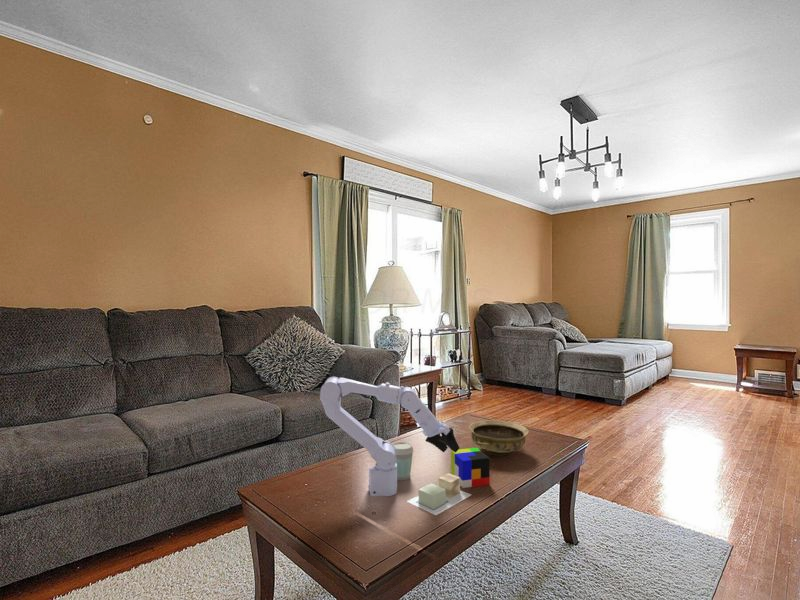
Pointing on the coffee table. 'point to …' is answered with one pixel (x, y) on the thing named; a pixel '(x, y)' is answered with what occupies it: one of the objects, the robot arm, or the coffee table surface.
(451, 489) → the maple block
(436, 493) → the sage base block
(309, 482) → the coffee table surface
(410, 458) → the coffee cup
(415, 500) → the board
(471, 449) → the puzzle toy
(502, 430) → the ceramic bowl
